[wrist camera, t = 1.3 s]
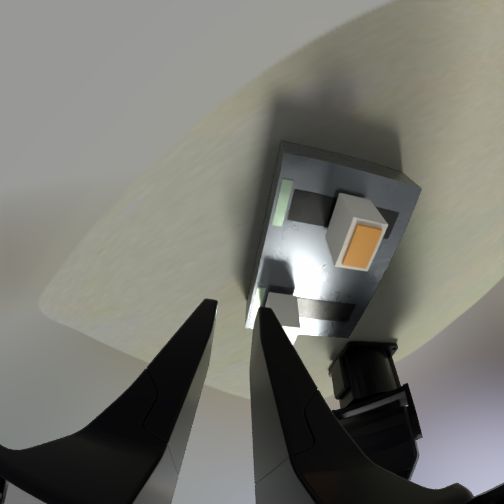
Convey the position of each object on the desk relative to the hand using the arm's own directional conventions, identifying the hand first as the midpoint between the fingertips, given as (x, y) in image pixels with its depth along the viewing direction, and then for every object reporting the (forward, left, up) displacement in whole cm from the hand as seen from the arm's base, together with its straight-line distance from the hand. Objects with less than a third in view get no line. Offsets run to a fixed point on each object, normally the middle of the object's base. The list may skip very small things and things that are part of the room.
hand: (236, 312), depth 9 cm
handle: (-4, +8, -9) cm, 12 cm away
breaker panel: (-6, +4, -12) cm, 14 cm away
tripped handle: (-6, 0, -9) cm, 10 cm away
